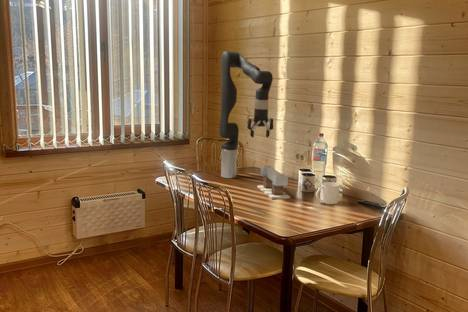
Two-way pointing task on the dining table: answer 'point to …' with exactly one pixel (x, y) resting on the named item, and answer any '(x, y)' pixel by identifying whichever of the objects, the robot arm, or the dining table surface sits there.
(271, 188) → the peg rack
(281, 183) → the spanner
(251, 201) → the dining table surface
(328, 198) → the mug
